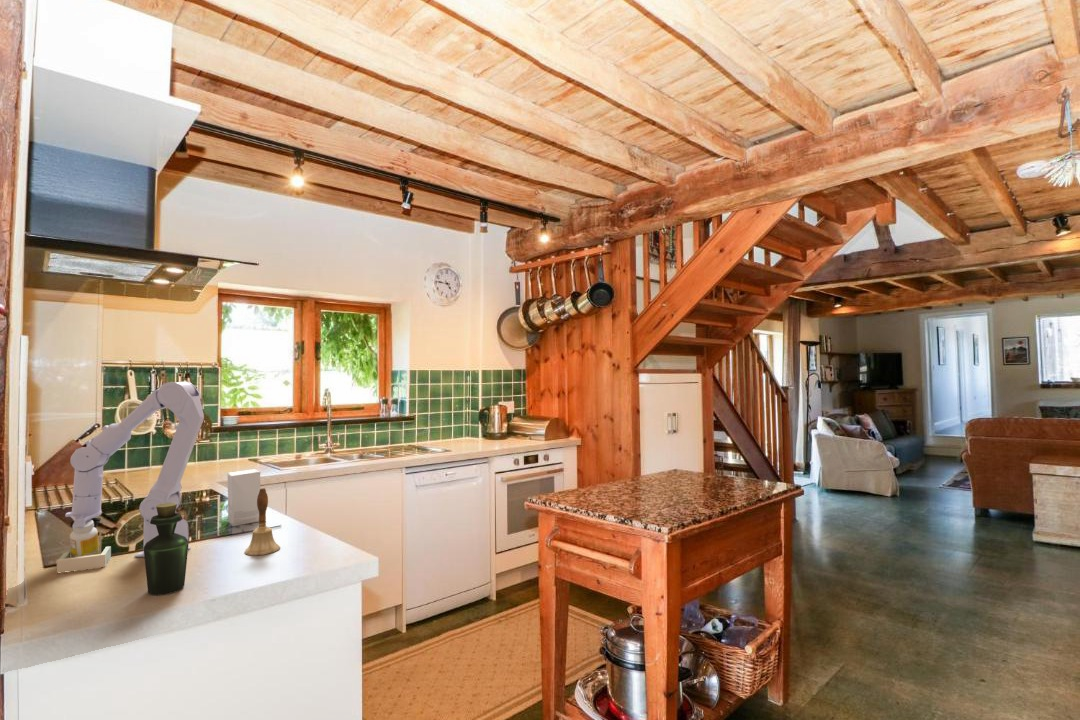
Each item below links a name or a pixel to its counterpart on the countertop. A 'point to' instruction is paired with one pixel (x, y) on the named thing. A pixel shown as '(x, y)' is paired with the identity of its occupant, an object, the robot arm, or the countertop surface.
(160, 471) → the robot arm
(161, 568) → the potion bottle
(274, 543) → the hand bell
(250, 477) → the skincare box
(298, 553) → the countertop surface
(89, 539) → the supplement bottle
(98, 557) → the tray
